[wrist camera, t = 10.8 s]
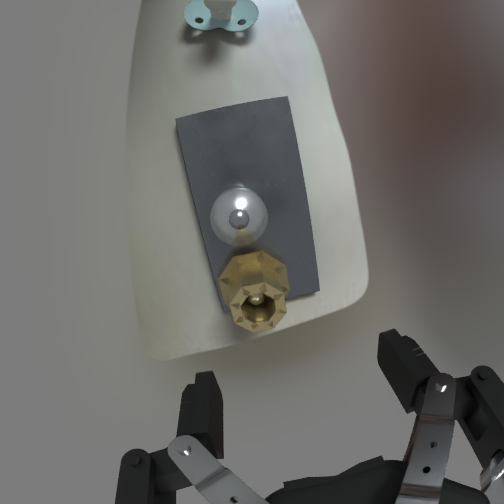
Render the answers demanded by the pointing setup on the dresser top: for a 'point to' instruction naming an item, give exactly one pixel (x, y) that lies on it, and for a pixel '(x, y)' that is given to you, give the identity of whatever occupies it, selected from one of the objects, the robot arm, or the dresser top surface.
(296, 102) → the dresser top surface
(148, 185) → the dresser top surface
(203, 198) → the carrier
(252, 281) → the brass octagonal tube
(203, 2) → the pacifier
